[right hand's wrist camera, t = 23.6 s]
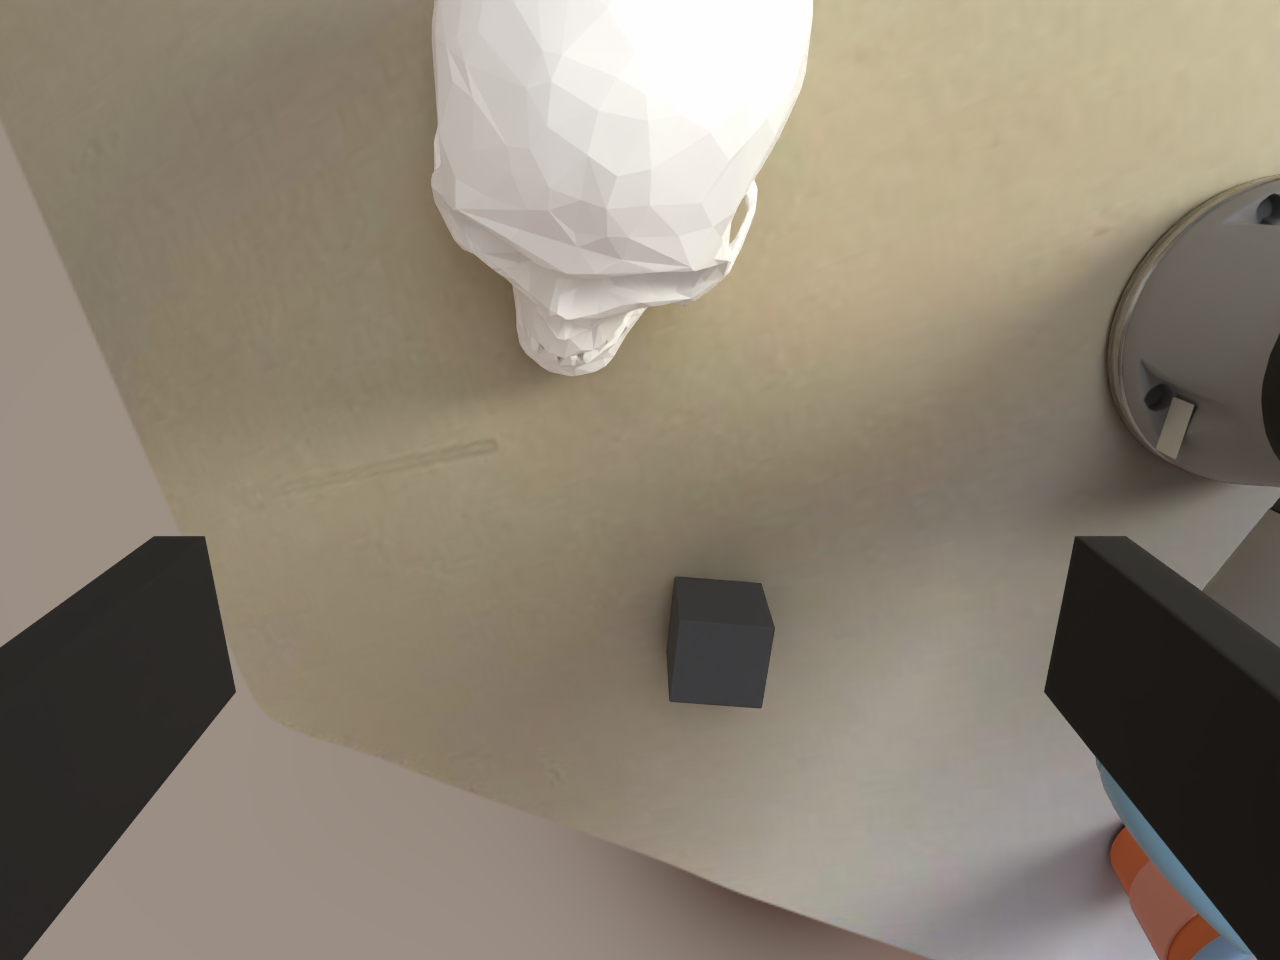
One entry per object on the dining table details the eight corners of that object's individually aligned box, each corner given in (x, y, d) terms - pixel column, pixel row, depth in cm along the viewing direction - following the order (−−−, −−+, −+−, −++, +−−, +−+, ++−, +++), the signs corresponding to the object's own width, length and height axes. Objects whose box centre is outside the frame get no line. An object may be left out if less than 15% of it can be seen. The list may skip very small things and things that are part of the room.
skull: (447, 350, 42) (357, 444, 27) (495, -159, 34) (407, -417, 19) (701, 391, 43) (748, 503, 28) (799, -91, 36) (935, -286, 21)
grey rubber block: (674, 576, 46) (678, 620, 42) (761, 583, 47) (775, 627, 42) (666, 651, 48) (669, 702, 43) (749, 657, 48) (761, 709, 44)
